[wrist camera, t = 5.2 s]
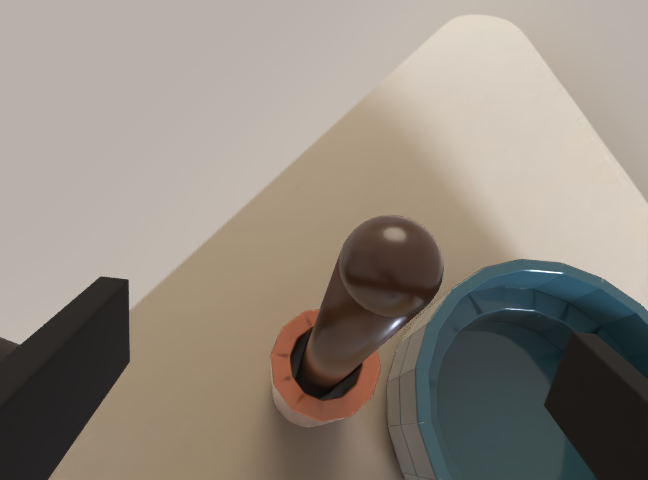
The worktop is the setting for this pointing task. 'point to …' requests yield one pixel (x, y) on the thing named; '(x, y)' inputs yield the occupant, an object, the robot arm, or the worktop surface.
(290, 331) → the crock
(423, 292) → the stirring stick
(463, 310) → the bowl
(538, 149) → the worktop surface
